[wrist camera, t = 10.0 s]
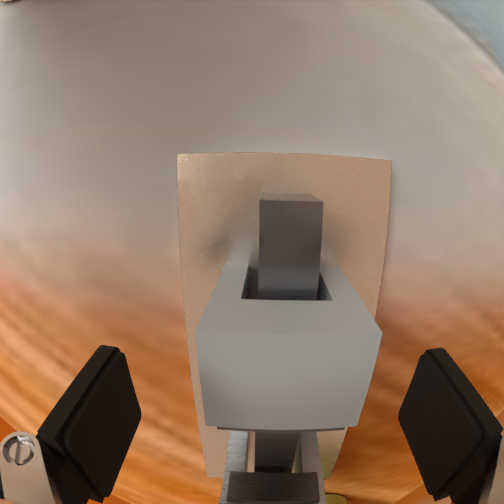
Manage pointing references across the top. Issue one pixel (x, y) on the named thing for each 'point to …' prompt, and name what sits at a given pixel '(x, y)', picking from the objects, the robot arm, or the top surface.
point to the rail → (276, 283)
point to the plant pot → (335, 499)
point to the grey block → (285, 356)
